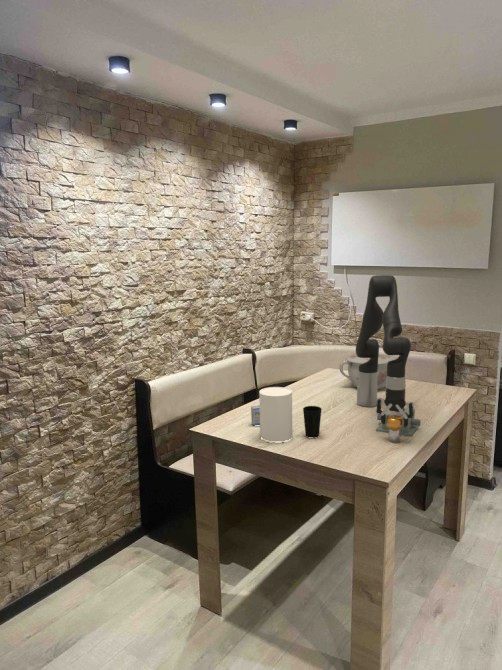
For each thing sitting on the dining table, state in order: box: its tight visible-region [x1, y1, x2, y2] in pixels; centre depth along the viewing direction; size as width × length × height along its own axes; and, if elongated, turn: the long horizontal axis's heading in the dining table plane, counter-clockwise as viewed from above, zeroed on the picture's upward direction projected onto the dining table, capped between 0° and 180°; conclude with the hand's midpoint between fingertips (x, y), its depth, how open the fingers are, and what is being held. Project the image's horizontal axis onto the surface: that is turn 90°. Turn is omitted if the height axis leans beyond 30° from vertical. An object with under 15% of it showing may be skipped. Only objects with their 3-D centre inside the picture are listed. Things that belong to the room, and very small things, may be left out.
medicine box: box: [250, 404, 260, 425], centre depth 224 cm, size 8×4×9 cm, turn 105°
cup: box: [302, 405, 322, 438], centre depth 209 cm, size 8×8×12 cm
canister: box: [258, 386, 293, 441], centre depth 207 cm, size 14×14×20 cm
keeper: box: [384, 405, 403, 417], centre depth 208 cm, size 7×1×8 cm, turn 61°
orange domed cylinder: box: [387, 415, 403, 444], centre depth 202 cm, size 6×6×10 cm
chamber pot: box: [338, 353, 396, 391], centre depth 280 cm, size 28×28×21 cm
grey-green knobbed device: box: [375, 407, 422, 437], centre depth 217 cm, size 18×18×8 cm
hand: (394, 425), depth 201 cm, fingers open, 8 cm apart
